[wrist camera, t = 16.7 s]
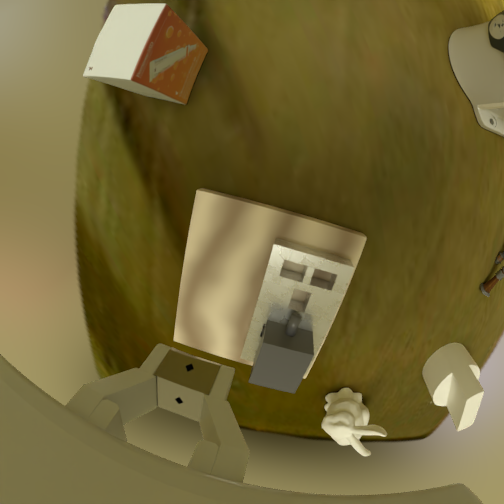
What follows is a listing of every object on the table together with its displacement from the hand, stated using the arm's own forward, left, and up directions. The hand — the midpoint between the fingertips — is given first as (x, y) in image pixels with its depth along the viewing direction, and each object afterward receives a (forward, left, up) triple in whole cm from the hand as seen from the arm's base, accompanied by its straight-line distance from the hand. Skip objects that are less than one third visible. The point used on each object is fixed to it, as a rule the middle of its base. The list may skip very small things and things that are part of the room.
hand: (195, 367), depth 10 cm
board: (-2, +9, -25) cm, 26 cm away
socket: (-6, +9, -23) cm, 25 cm away
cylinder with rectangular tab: (-36, +14, -25) cm, 46 cm away
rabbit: (-21, +25, -25) cm, 41 cm away
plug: (-6, +12, -22) cm, 26 cm away
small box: (+15, -16, -25) cm, 34 cm away
